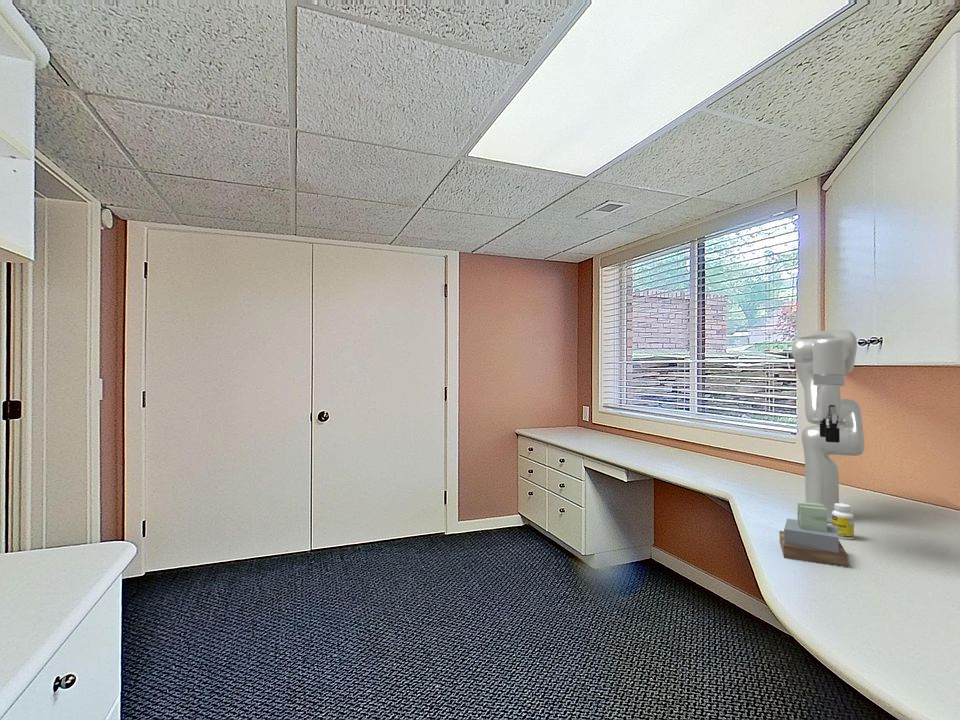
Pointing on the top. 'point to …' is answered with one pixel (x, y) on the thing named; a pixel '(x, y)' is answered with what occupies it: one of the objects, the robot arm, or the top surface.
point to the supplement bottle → (843, 521)
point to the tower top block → (811, 537)
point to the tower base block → (814, 554)
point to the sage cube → (812, 516)
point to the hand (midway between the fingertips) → (829, 439)
